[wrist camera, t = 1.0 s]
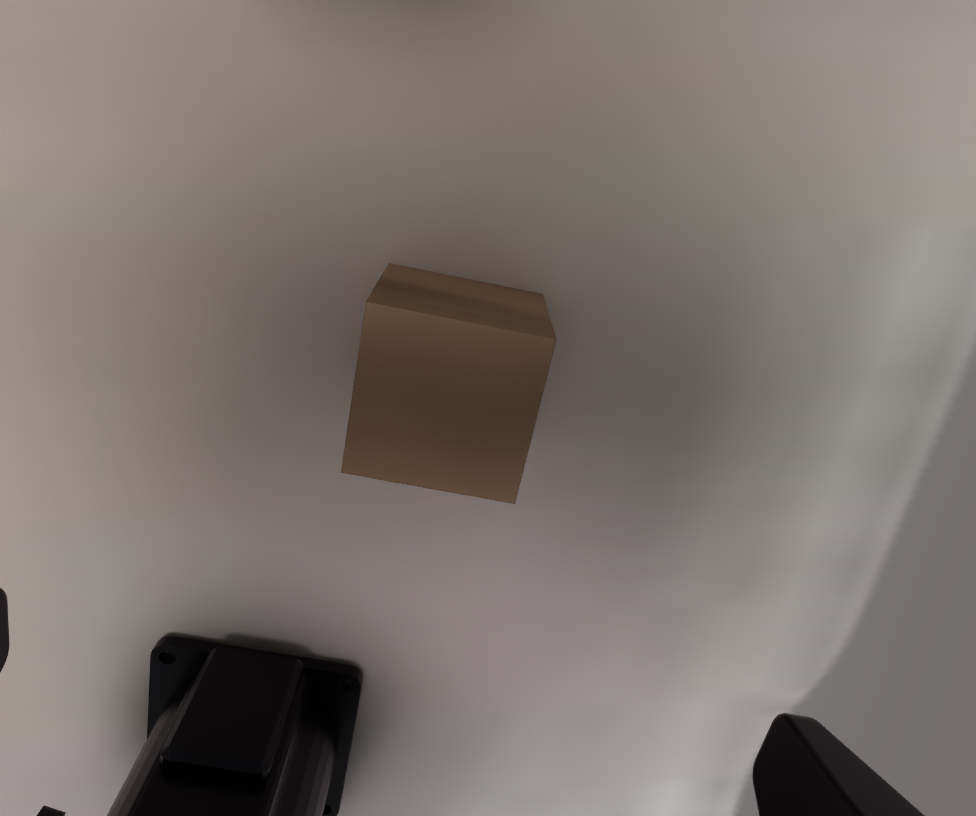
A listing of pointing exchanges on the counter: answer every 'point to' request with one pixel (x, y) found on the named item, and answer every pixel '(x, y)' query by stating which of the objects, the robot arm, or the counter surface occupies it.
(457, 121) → the counter surface
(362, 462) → the walnut cube
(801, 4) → the counter surface
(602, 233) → the counter surface
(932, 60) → the counter surface
